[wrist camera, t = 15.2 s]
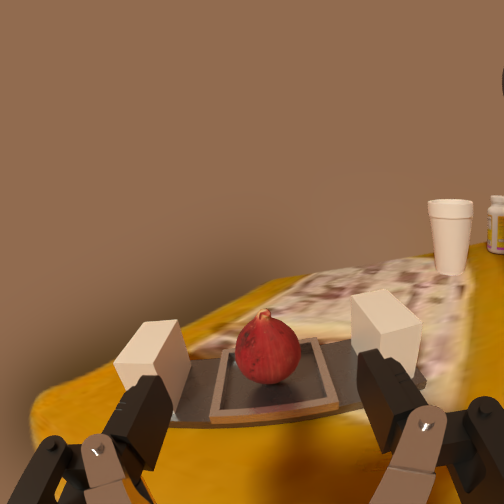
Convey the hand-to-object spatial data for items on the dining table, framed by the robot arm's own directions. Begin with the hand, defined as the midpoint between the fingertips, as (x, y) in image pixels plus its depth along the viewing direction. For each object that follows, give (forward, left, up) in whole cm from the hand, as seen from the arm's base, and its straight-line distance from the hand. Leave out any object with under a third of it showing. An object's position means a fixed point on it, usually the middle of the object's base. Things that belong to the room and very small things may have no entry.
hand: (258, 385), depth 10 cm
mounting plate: (-7, -10, -12) cm, 17 cm away
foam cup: (-48, -6, -12) cm, 50 cm away
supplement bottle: (-66, +3, -12) cm, 67 cm away
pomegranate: (-7, -10, -11) cm, 16 cm away
